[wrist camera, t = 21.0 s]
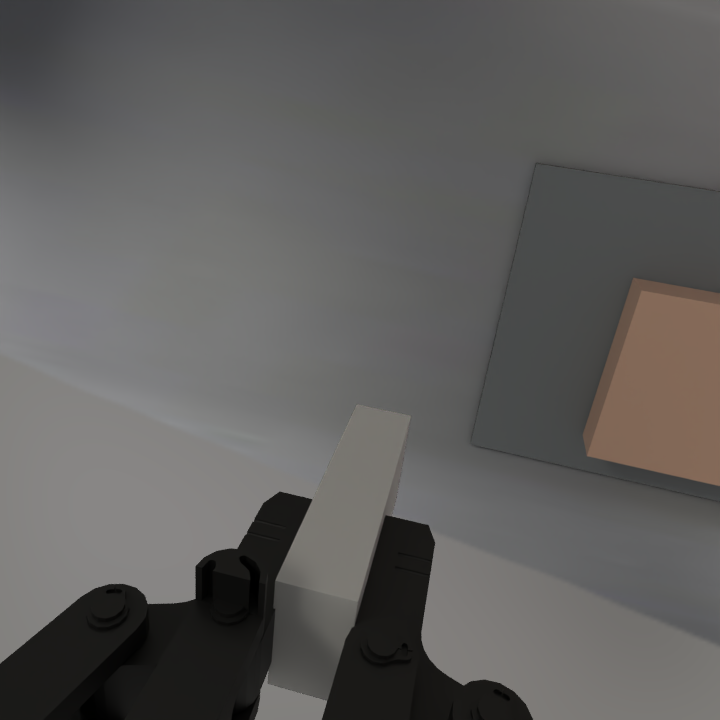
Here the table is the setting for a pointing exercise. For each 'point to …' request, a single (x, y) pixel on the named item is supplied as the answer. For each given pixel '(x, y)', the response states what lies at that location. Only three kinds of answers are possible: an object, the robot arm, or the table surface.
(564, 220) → the mat
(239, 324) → the table surface
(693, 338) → the tile
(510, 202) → the table surface
